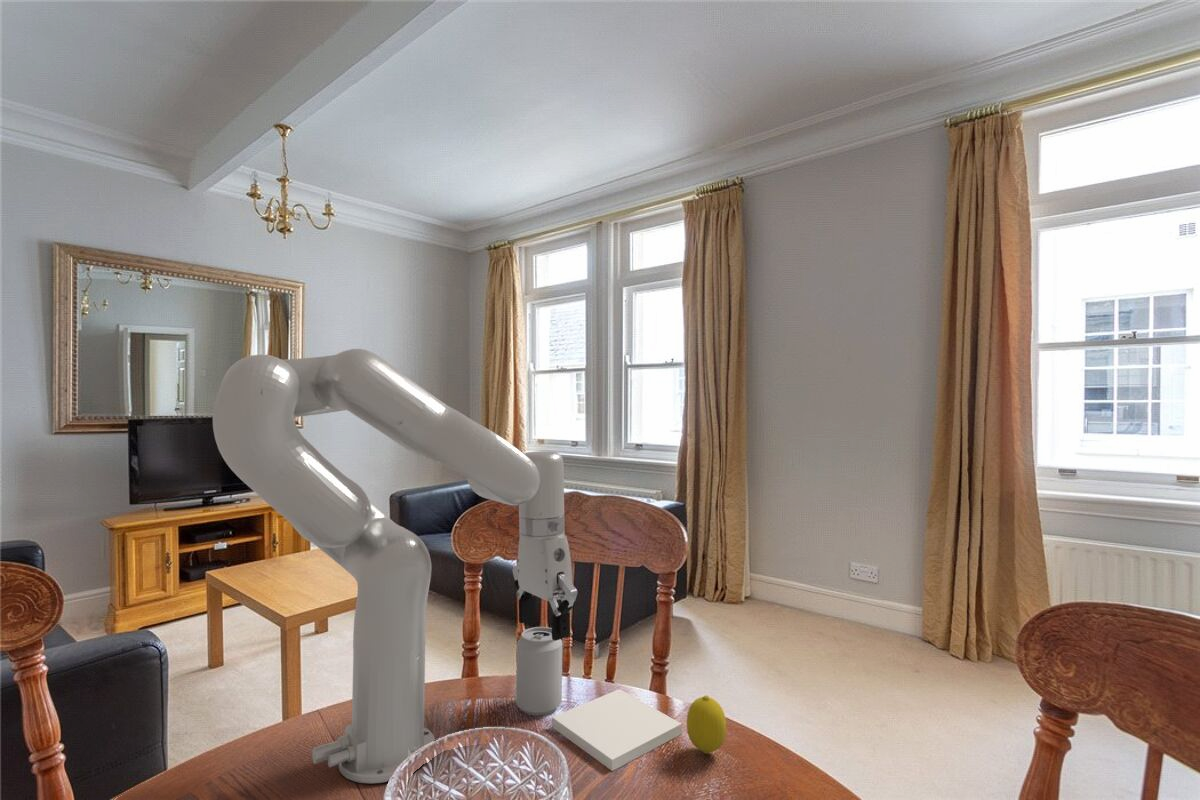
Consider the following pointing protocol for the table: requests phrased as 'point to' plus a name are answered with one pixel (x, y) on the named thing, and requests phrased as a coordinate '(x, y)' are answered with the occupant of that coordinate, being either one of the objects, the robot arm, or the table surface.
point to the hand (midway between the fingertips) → (543, 629)
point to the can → (538, 671)
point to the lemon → (706, 724)
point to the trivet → (616, 728)
